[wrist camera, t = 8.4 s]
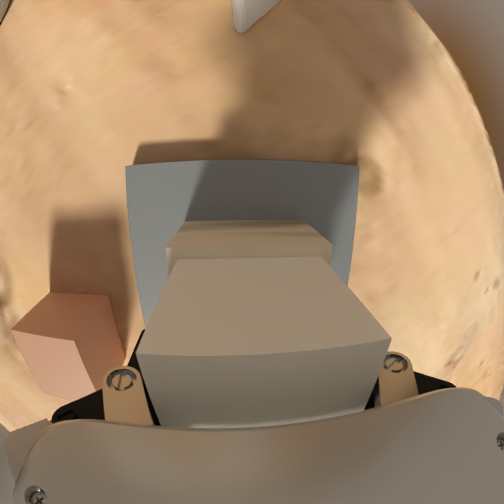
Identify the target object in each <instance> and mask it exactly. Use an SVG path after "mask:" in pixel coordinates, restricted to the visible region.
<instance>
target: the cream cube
mask: <svg viewBox="0 0 504 504" xmlns="http://www.w3.org/2000/svg"><path fill="white" fill-rule="evenodd" d="M391 339H392V338H391V337H390V336H389V334H388V333H387V332H386V331H385V330H384V328H383V327H382V326H381V325H380V324H379V322H378V321H377V320H376V319H375V318H374V316H373V315H372V314H371V313H370V312H369V310H368V309H367V308H366V307H365V306H364V305H363V303H362V302H361V301H360V300H359V299H358V298H357V296H356V295H355V294H354V293H353V292H352V291H351V290H350V288H349V287H348V286H347V285H346V284H345V283H344V282H343V280H342V279H341V278H340V277H339V276H338V275H337V274H336V273H335V272H334V270H333V269H332V268H331V267H330V266H329V265H328V264H327V263H326V262H325V260H324V259H323V258H322V257H321V256H302V257H258V258H209V259H177V261H176V263H175V265H174V267H173V269H172V272H171V274H170V276H169V278H168V280H167V282H166V284H165V286H164V289H163V291H162V293H161V295H160V297H159V300H158V302H157V304H156V306H155V309H154V311H153V313H152V315H151V318H150V320H149V322H148V325H147V327H146V329H145V332H144V334H143V336H142V339H141V341H140V344H139V346H138V348H137V351H136V356H137V360H138V363H139V366H140V369H141V372H142V376H143V379H144V382H145V385H146V387H147V390H148V393H149V396H150V399H151V401H152V404H153V407H154V409H155V412H156V414H157V417H158V419H159V422H160V424H161V426H170V427H186V428H242V427H260V426H272V425H282V424H291V423H299V422H306V421H313V420H319V419H325V418H330V417H336V416H341V415H345V414H350V413H355V412H359V411H363V410H364V408H365V406H366V404H367V402H368V399H369V397H370V395H371V392H372V390H373V388H374V385H375V383H376V380H377V378H378V375H379V373H380V370H381V367H382V365H383V362H384V359H385V356H386V354H387V351H388V348H389V345H390V342H391Z"/></svg>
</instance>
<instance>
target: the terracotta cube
mask: <svg viewBox="0 0 504 504" xmlns="http://www.w3.org/2000/svg"><path fill="white" fill-rule="evenodd" d="M11 331H12V334H13V336H14V338H15V340H16V343H17V345H18V347H19V349H20V351H21V353H22V355H23V358H24V360H25V362H26V364H27V365H28V367H29V369H30V371H31V373H32V375H33V377H34V378H35V380H36V382H37V384H38V386H39V387H40V389H41V391H42V392H43V393H44V394H48V395H51V396H54V397H58V398H62V399H65V400H69V401H76V400H78V399H80V398H82V397H85V396H87V395H89V394H91V393H93V392H95V391H98V390H100V389H102V380H103V377H104V375H105V374H106V373H107V372H108V371H109V370H111V369H113V368H115V367H119V366H122V365H123V363H124V361H125V358H126V356H125V353H124V350H123V346H122V343H121V340H120V336H119V333H118V330H117V326H116V322H115V318H114V315H113V311H112V307H111V303H110V298H109V295H100V294H75V293H56V292H50V293H49V294H47V295H46V296H45V297H44V298H43V299H42V300H41V301H40V302H39V303H38V304H37V305H35V306H34V307H33V308H32V309H31V310H30V311H29V312H28V313H27V314H26V315H25V316H24V317H23V318H22V319H21V320H20V321H19V322H18V323H17V324H16V325H15V326H14V327H13V328H12V329H11Z"/></svg>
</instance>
